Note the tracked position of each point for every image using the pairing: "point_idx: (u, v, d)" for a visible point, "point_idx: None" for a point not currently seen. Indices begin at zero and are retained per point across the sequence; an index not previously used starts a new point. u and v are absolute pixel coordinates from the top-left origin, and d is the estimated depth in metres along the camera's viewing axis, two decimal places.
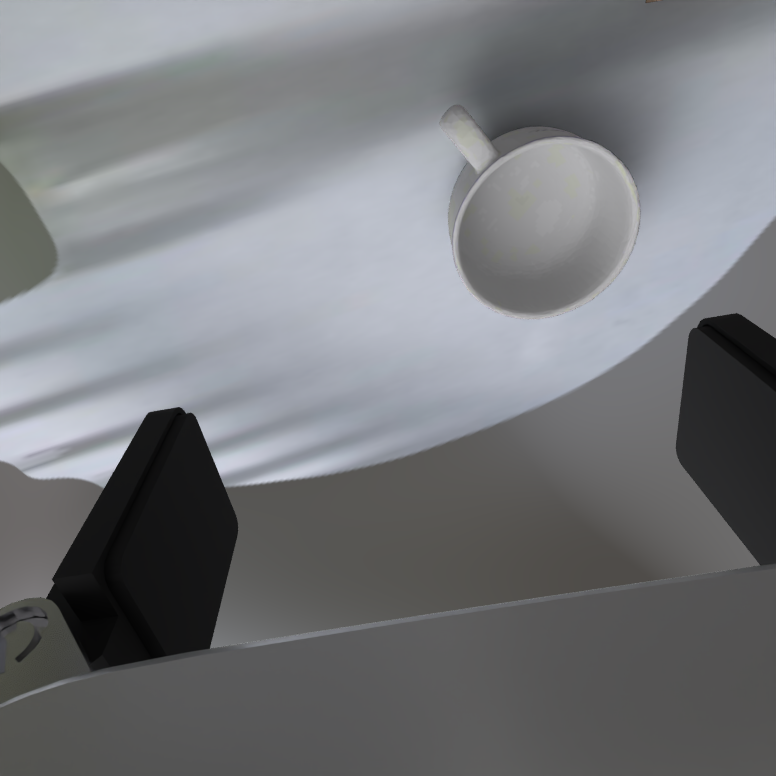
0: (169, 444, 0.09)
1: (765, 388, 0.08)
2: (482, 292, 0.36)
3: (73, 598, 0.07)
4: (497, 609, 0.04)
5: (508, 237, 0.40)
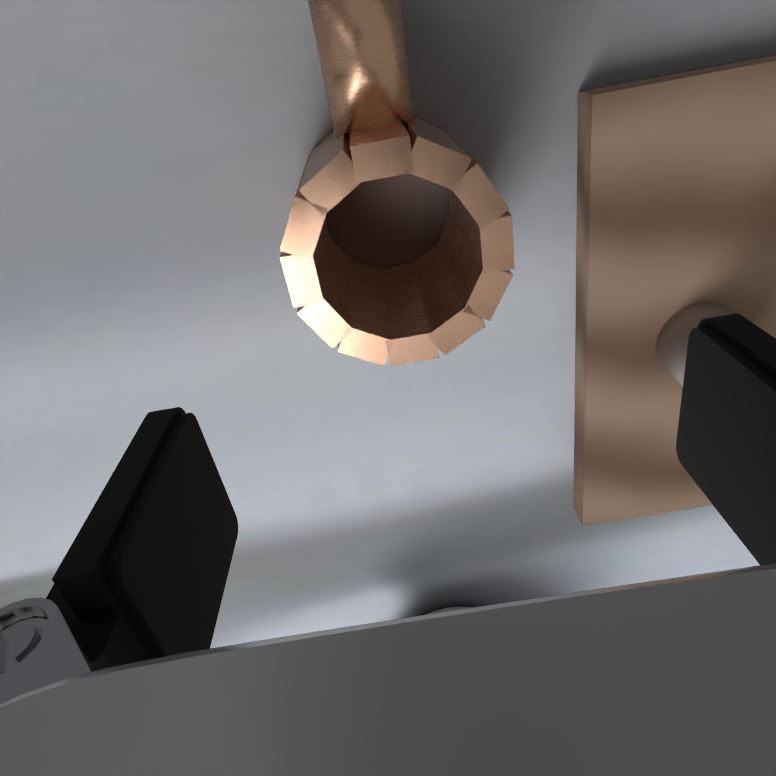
0: (169, 444, 0.09)
1: (765, 388, 0.08)
2: None
3: (73, 598, 0.07)
4: (497, 609, 0.04)
5: None
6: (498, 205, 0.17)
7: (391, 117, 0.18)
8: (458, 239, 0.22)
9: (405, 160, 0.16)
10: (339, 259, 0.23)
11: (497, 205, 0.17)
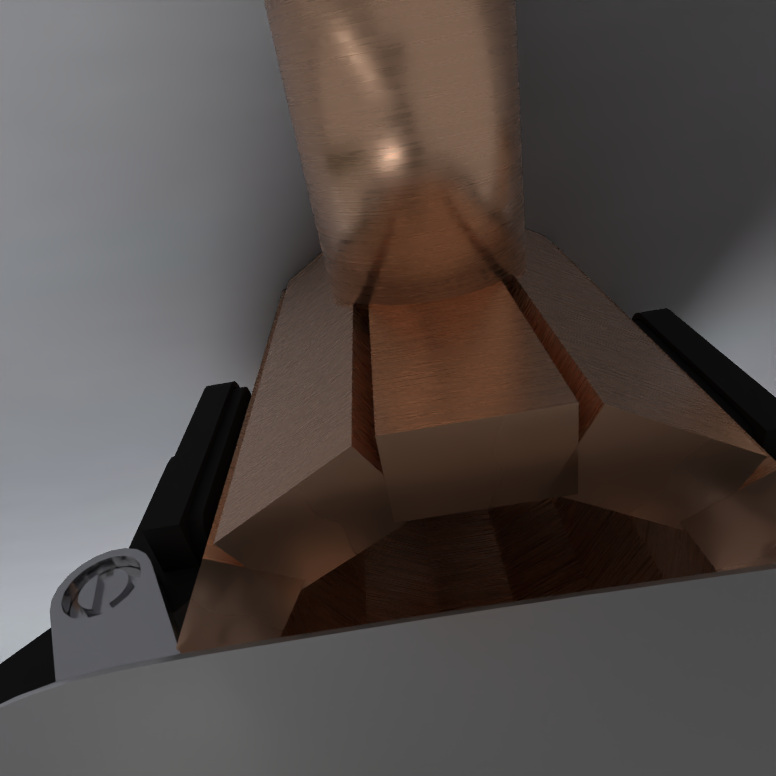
0: (230, 414, 0.10)
1: None
2: None
3: (159, 550, 0.08)
4: (497, 609, 0.04)
5: None
6: None
7: (478, 272, 0.07)
8: None
9: (555, 468, 0.05)
10: None
11: None
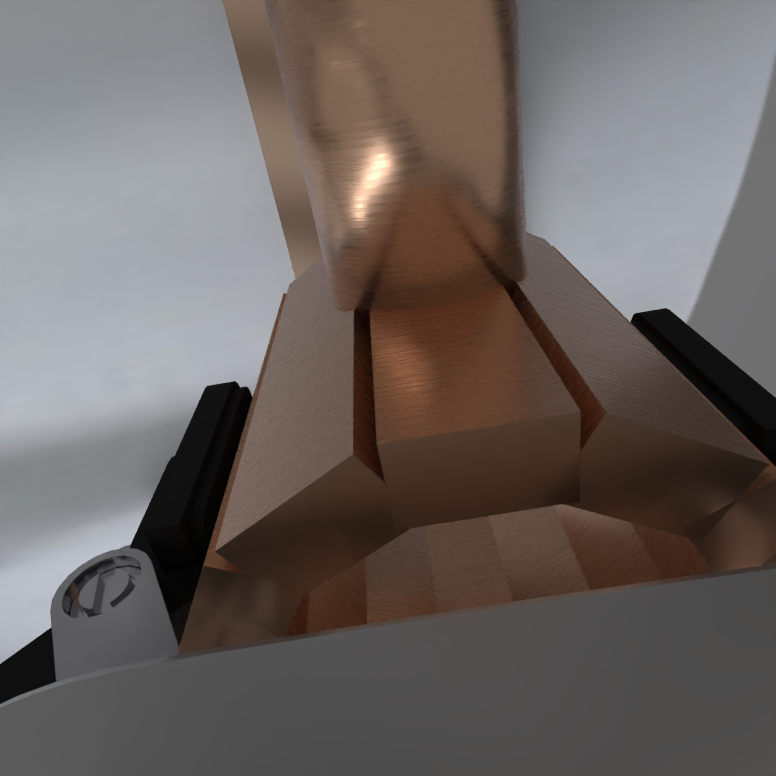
0: (231, 414, 0.10)
1: None
2: None
3: (159, 549, 0.08)
4: (497, 609, 0.04)
5: None
6: None
7: (480, 278, 0.07)
8: None
9: (557, 476, 0.05)
10: None
11: None
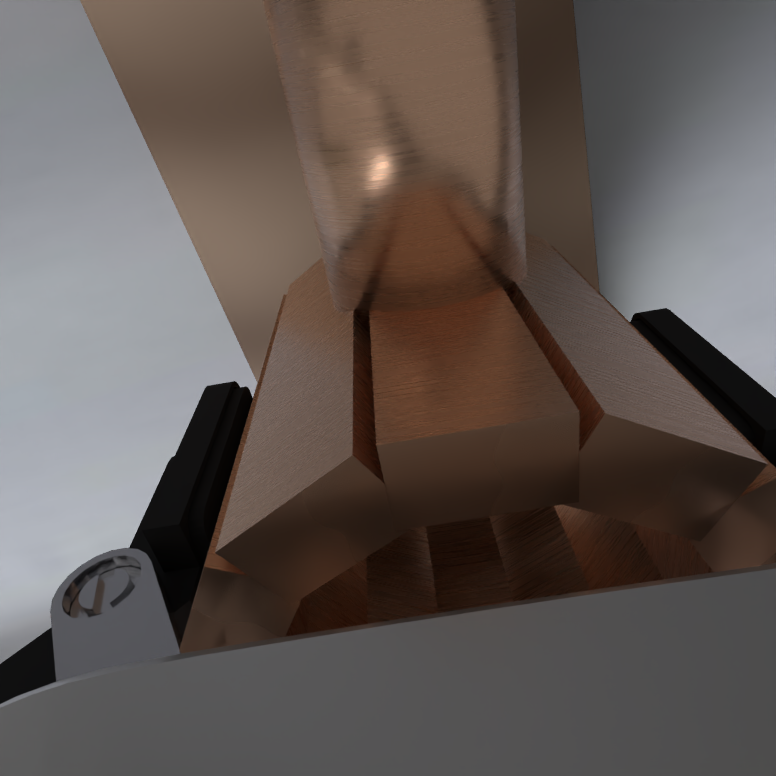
0: (231, 414, 0.10)
1: None
2: None
3: (159, 549, 0.08)
4: (497, 609, 0.04)
5: None
6: None
7: (479, 278, 0.07)
8: None
9: (556, 476, 0.05)
10: None
11: None
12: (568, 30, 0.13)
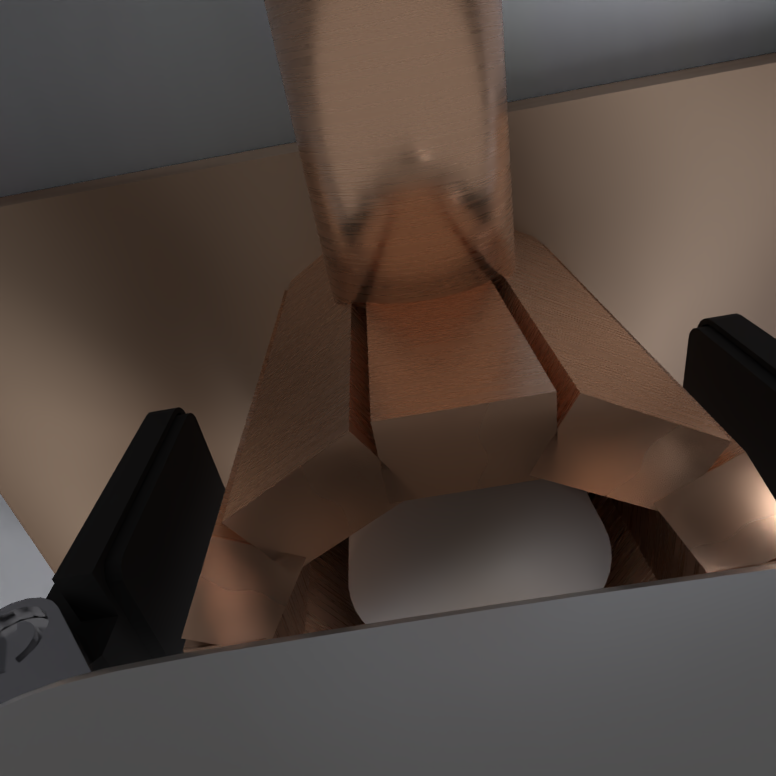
0: (169, 444, 0.09)
1: (765, 388, 0.08)
2: None
3: (73, 598, 0.07)
4: (497, 609, 0.04)
5: None
6: (775, 539, 0.06)
7: (469, 272, 0.07)
8: None
9: (536, 451, 0.05)
10: None
11: (773, 539, 0.06)
12: (109, 196, 0.11)
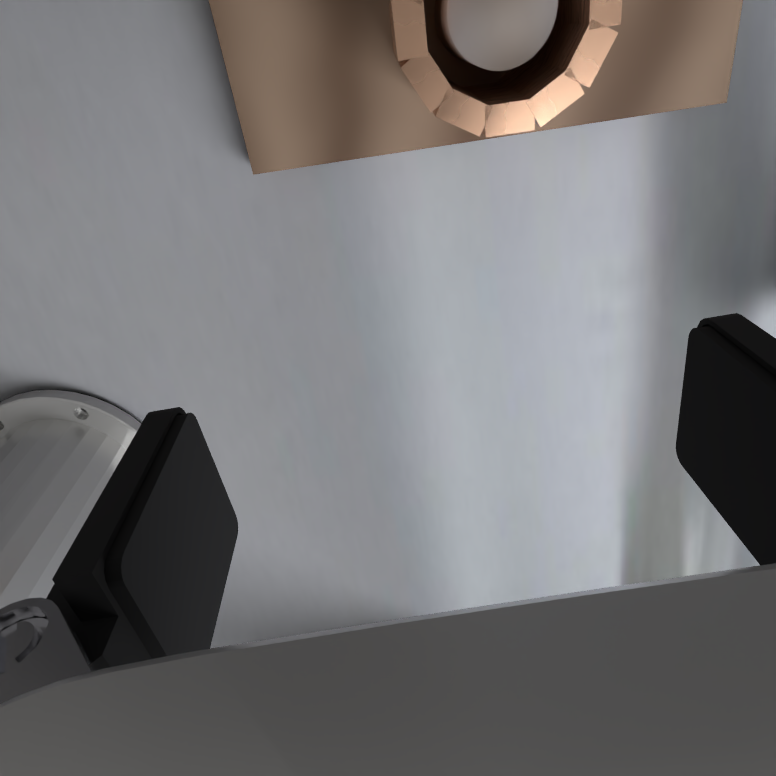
0: (169, 444, 0.09)
1: (765, 388, 0.08)
2: None
3: (73, 598, 0.07)
4: (497, 609, 0.04)
5: None
6: None
7: None
8: (552, 32, 0.22)
9: None
10: None
11: None
12: None
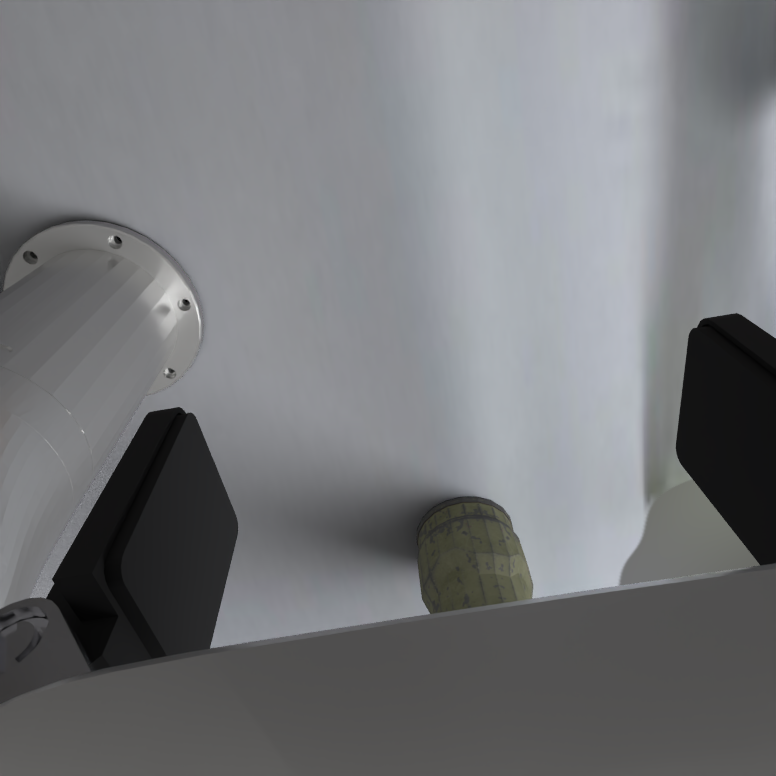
0: (169, 444, 0.09)
1: (765, 388, 0.08)
2: None
3: (73, 598, 0.07)
4: (497, 609, 0.04)
5: None
6: None
7: None
8: None
9: None
10: None
11: None
12: None
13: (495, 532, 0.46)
